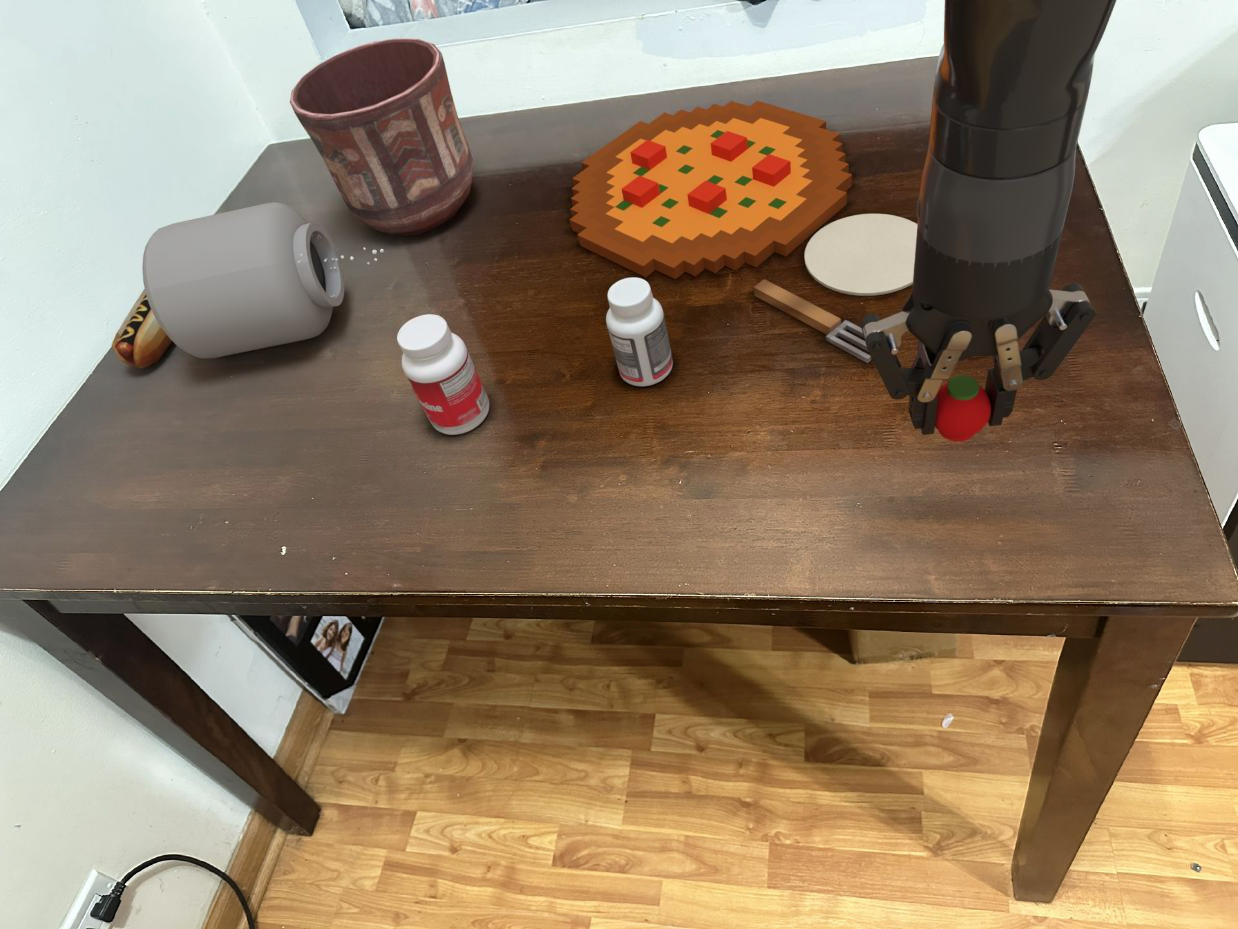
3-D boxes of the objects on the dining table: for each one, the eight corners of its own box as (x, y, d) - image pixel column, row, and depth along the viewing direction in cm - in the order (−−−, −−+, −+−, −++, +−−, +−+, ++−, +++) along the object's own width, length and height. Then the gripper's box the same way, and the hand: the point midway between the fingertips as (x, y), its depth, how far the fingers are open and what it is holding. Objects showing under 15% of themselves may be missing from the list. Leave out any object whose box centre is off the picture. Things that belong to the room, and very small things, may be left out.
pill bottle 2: (665, 343, 87) (650, 265, 79) (679, 378, 83) (665, 300, 76) (614, 358, 87) (594, 282, 79) (625, 394, 83) (606, 318, 76)
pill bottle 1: (421, 413, 87) (377, 332, 78) (472, 382, 88) (435, 298, 80) (449, 447, 83) (407, 365, 75) (502, 413, 85) (466, 329, 76)
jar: (228, 238, 106) (405, 189, 99) (257, 357, 108) (433, 318, 101) (99, 225, 88) (303, 165, 81) (137, 368, 90) (340, 322, 83)
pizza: (719, 313, 88) (716, 290, 86) (522, 217, 106) (515, 195, 103) (902, 155, 99) (904, 131, 97) (696, 92, 117) (693, 71, 115)
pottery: (420, 267, 103) (359, 128, 89) (328, 233, 112) (259, 101, 98) (514, 185, 111) (471, 45, 97) (421, 159, 119) (369, 28, 106)
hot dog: (206, 299, 107) (184, 266, 104) (165, 375, 99) (138, 343, 95) (171, 303, 108) (147, 271, 104) (126, 378, 100) (99, 347, 96)
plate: (859, 202, 95) (859, 199, 95) (962, 245, 88) (962, 241, 88) (778, 263, 91) (778, 260, 91) (878, 313, 84) (878, 310, 83)
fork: (749, 299, 89) (748, 290, 88) (769, 284, 89) (768, 275, 89) (867, 363, 80) (868, 354, 79) (887, 346, 81) (888, 336, 80)
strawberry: (950, 398, 63) (956, 355, 60) (999, 424, 60) (1008, 382, 57) (914, 430, 62) (919, 388, 58) (963, 458, 59) (970, 417, 56)
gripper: (871, 278, 46) (864, 476, 59) (1155, 233, 44) (1084, 448, 57) (846, 198, 51) (845, 397, 64) (1102, 153, 49) (1047, 368, 62)
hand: (958, 420), depth 60 cm, fingers closed on strawberry, 4 cm apart
